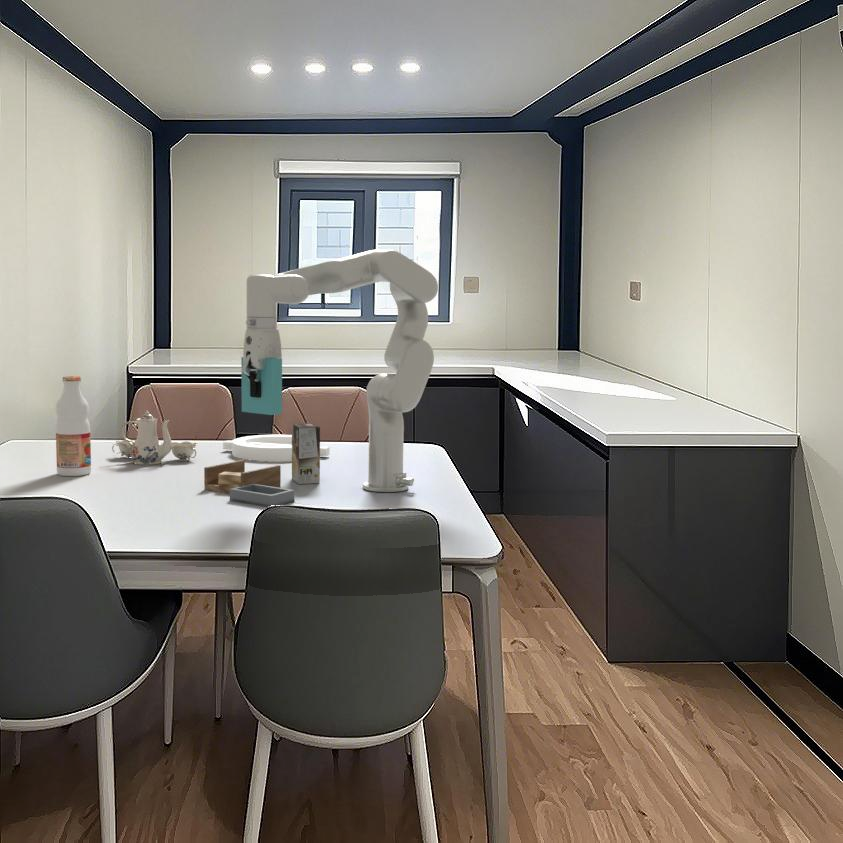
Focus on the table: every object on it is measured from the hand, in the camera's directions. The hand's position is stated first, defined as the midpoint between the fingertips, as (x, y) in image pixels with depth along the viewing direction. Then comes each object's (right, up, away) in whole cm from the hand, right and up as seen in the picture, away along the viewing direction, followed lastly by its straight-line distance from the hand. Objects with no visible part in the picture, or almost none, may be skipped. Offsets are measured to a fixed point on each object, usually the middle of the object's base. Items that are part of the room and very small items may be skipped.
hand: (261, 395), depth 270 cm
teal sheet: (0, -4, +1) cm, 4 cm away
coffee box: (+8, -24, +31) cm, 40 cm away
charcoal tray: (0, -27, +3) cm, 27 cm away
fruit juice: (-59, -22, +35) cm, 72 cm away
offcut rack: (-8, -25, +19) cm, 32 cm away
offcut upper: (-10, -23, +16) cm, 30 cm away
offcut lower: (-10, -26, +16) cm, 32 cm away
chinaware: (-43, -19, +59) cm, 75 cm away
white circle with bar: (-7, -18, +75) cm, 78 cm away
